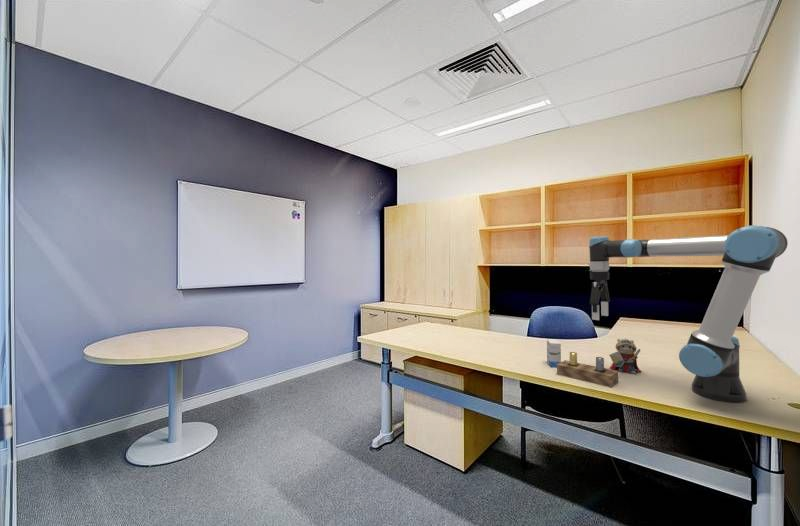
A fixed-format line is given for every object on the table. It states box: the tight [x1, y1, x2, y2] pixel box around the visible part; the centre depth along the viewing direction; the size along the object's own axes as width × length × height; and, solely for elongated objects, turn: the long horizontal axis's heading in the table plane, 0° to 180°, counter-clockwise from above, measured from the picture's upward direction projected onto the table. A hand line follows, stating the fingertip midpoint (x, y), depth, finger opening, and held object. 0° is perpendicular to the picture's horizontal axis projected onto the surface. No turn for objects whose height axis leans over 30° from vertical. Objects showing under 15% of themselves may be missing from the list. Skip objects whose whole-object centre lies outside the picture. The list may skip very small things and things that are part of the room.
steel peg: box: [595, 356, 605, 373], centre depth 144 cm, size 3×3×10 cm
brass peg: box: [569, 351, 578, 367], centre depth 152 cm, size 3×3×10 cm
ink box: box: [546, 339, 562, 368], centre depth 167 cm, size 8×5×12 cm, turn 168°
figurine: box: [608, 338, 642, 374], centre depth 155 cm, size 13×11×15 cm
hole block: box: [556, 360, 619, 388], centre depth 148 cm, size 22×9×4 cm, turn 41°
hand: (600, 317), depth 151 cm, fingers open, 13 cm apart
